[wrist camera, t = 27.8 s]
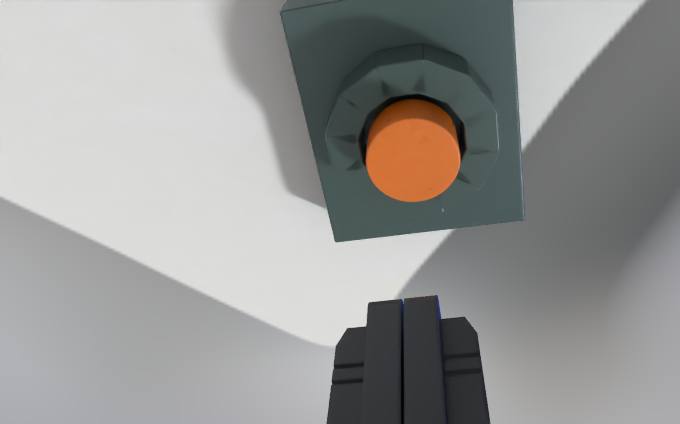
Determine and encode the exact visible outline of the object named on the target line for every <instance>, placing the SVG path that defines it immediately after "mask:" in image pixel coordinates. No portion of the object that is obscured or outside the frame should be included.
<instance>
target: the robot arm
mask: <svg viewBox="0 0 680 424" xmlns="http://www.w3.org/2000/svg"><path fill="white" fill-rule="evenodd" d="M327 424H490V418H489V411H488V404H487V397H486V390H485V384H484V377H483V370H482V363H481V356H480V350H479V342H478V336H477V332H476V331H475V330H474V328H473V327H472V326H471V324H470V323H469V322H468V321H467V319H466V318H465V317H458V318H447V319H441V314H440V308H439V301H438V296H437V295H435V296H426V297H415V298H406V299H404V304H403V301H402V299H398V300H388V301H378V302H369V304H368V312H367V327H357V328H347V330H346V331H345V333H344V334H343V336H342V338H341V339H340V341H339V342H338V344H337V345H336V350H335V359H334V370H333V375H332V385H331V392H330V401H329V409H328V417H327Z"/></svg>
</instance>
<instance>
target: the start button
mask: <svg viewBox="0 0 680 424" xmlns="http://www.w3.org/2000/svg"><path fill="white" fill-rule="evenodd" d="M460 161H461V160H460V150H459V144H458V139H457V133H456V128H455V125H454V123H453V121H452V119H451V118H450V116H449V115H448V114H447V113H446V112H445V111H444V110H443V109H442V108H440V107H439V106H437V105H435V104H433V103H431V102H428V101H425V100H419V99H408V100H402V101H398V102H396V103H393V104H391V105H389V106H388V107H386V108H385V109H383V110H382V111H381V112H380V113H379V114H378V115H377V116H376V118H375V119H374V121H373V122H372V124H371V127H370V130H369V134H368V142H367V152H366V168H367V171H368V174H369V177H370V179H371V180H372V182H373V183H374V184H375V186H376V187H377V188H378V189H379V190H380V191H382V192H383V193H384V194H386V195H388V196H389V197H391V198H394V199H397V200H400V201H406V202H419V201H425V200H428V199H431V198H433V197H436V196H437V195H439V194H441V193H442V192H444V191H445V190H446V189H447V188H448V187H449V186H450V185H451V184H452V182H453V181H454V179H455V178H456V176H457V174H458V171H459V167H460Z"/></svg>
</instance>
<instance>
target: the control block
mask: <svg viewBox="0 0 680 424" xmlns="http://www.w3.org/2000/svg"><path fill="white" fill-rule="evenodd" d="M280 15H281V19H282V23H283V27H284V32H285V36H286V40H287V44H288V48H289V52H290V57H291V61H292V65H293V69H294V73H295V77H296V81H297V86H298V90H299V94H300V98H301V102H302V106H303V111H304V115H305V119H306V123H307V127H308V131H309V135H310V140H311V144H312V148H313V152H314V156H315V160H316V164H317V169H318V173H319V177H320V181H321V185H322V189H323V194H324V198H325V202H326V206H327V210H328V214H329V218H330V223H331V227H332V231H333V235H334V239H335V242H343V241H352V240H360V239H369V238H377V237H386V236H394V235H403V234H411V233H420V232H428V231H437V230H445V229H454V228H462V227H471V226H479V225H488V224H496V223H505V222H513V221H522V220H524V219H525V208H524V191H523V175H522V174H523V173H522V155H521V138H520V120H519V103H518V85H517V67H516V50H515V32H514V15H513V0H287V1H286V3H285V5H284V6H283V8H282V9H281V11H280ZM408 99H419V100H425V101H428V102H431V103H433V104H435V105H437V106H439V107H440V108H442V109H443V110H444V111H445V112H446V113H447V114H448V115H449V116H450V118H451V119H452V121H453V123H454V125H455V128H456V133H457V139H458V144H459V150H460V160H461V161H460V167H459V171H458V174H457V176H456V178H455V179H454V181H453V182H452V184H451V185H450V186H449V187H448V188H447V189H446V190H445V191H444V192H442V193H441V194H439V195H437V196H436V197H433V198H431V199H428V200H425V201H419V202H406V201H400V200H397V199H394V198H391V197H389V196H388V195H386V194H384V193H383V192H382V191H380V190H379V189H378V188H377V187H376V186H375V184H374V183H373V182H372V180H371V179H370V177H369V174H368V171H367V168H366V152H367V142H368V134H369V130H370V127H371V124H372V122H373V121H374V119H375V118H376V116H377V115H378V114H379V113H380V112H381V111H382V110H383V109H385V108H386V107H388V106H389V105H391V104H393V103H396V102H398V101H402V100H408Z"/></svg>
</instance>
